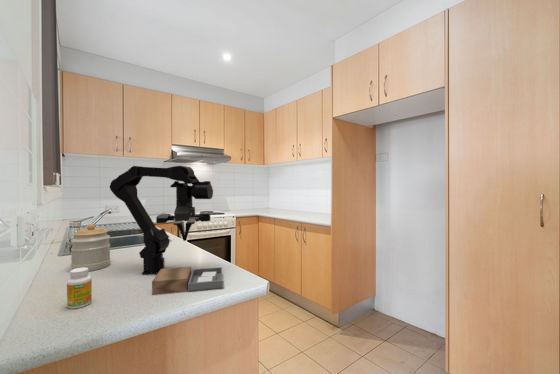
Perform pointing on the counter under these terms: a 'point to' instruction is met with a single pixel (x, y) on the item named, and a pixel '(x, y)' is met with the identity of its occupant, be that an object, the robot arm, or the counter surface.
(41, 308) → the counter surface
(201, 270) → the tray
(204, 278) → the tile
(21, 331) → the counter surface
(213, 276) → the tile
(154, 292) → the brown wooden block
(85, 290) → the supplement bottle
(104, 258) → the jar
